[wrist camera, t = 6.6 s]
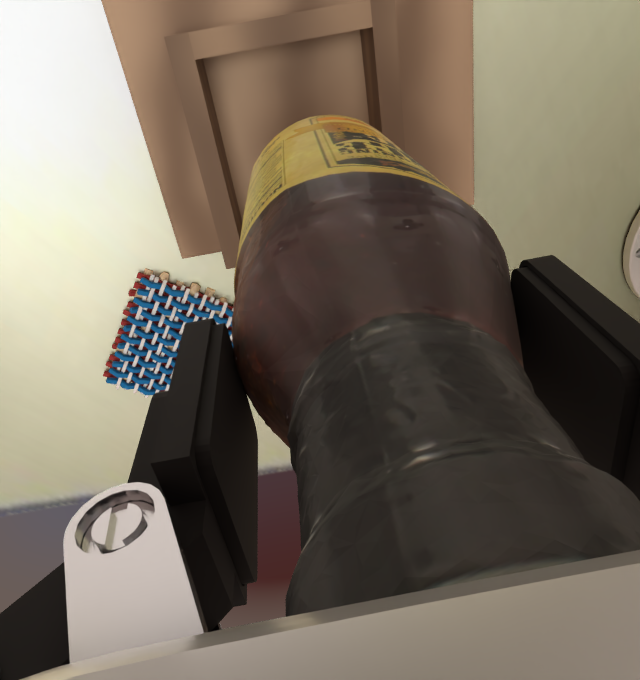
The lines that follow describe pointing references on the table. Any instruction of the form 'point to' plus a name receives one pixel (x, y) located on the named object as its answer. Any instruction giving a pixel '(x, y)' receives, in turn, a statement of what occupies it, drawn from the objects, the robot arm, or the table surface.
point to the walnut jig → (288, 91)
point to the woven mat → (159, 331)
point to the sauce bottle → (401, 379)
